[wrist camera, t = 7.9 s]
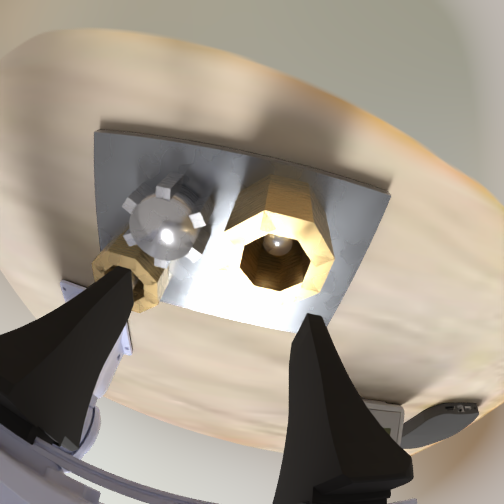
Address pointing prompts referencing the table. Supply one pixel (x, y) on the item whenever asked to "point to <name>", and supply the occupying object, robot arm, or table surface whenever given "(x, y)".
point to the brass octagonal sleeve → (283, 224)
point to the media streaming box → (437, 424)
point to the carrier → (212, 223)
